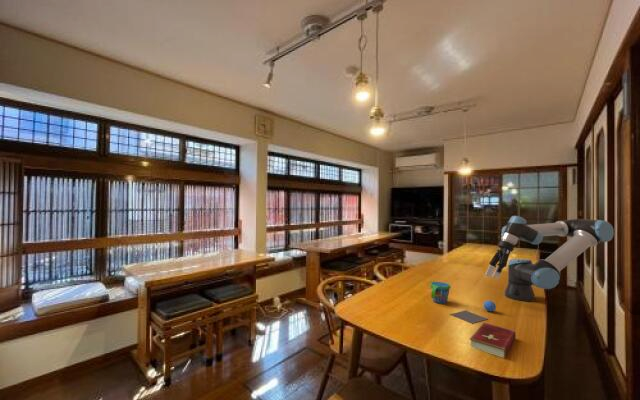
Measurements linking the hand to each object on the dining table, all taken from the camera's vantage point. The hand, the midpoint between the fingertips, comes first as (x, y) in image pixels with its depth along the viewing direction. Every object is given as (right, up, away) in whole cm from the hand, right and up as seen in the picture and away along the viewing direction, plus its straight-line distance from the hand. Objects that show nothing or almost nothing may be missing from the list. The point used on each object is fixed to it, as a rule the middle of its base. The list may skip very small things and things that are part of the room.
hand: (491, 277), depth 157 cm
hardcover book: (-24, -16, -41) cm, 51 cm away
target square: (-21, -16, -16) cm, 30 cm away
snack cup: (-26, -16, +5) cm, 31 cm away
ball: (-5, -13, -8) cm, 16 cm away
